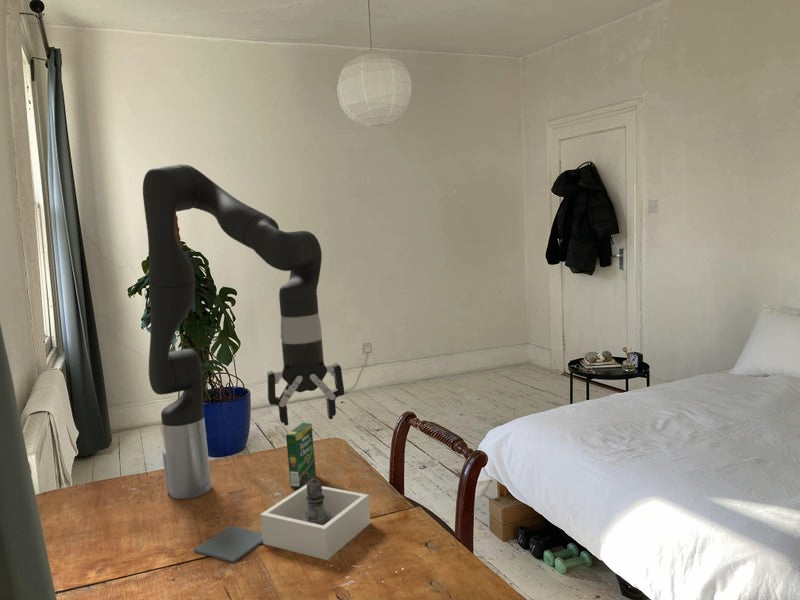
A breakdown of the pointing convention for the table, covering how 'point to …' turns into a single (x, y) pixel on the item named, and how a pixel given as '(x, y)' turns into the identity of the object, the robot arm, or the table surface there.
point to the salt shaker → (316, 504)
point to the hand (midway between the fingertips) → (308, 421)
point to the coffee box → (300, 455)
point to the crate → (312, 538)
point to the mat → (231, 544)
